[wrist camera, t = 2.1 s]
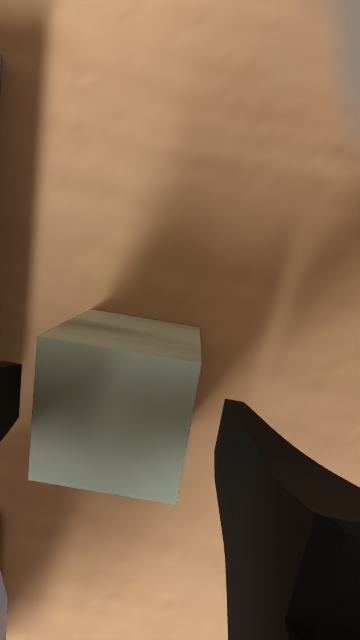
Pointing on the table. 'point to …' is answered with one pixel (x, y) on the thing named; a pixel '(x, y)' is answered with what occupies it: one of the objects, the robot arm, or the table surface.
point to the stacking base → (0, 68)
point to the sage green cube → (114, 404)
